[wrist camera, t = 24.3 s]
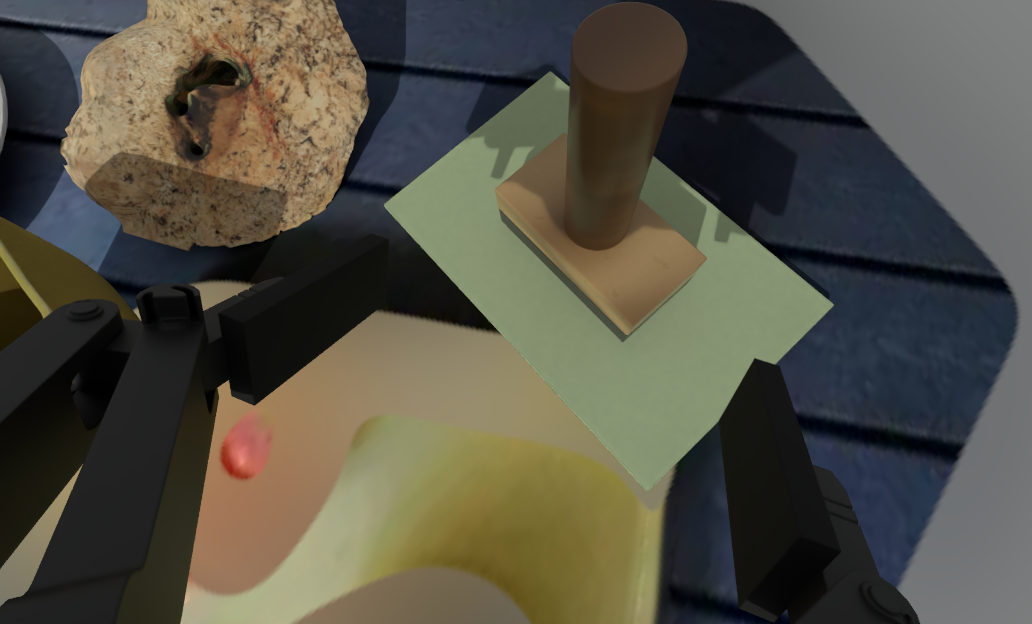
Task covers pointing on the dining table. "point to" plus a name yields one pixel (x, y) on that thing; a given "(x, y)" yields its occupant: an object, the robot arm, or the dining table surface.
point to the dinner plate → (3, 113)
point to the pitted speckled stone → (218, 119)
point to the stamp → (608, 172)
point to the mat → (575, 328)
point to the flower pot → (42, 282)
